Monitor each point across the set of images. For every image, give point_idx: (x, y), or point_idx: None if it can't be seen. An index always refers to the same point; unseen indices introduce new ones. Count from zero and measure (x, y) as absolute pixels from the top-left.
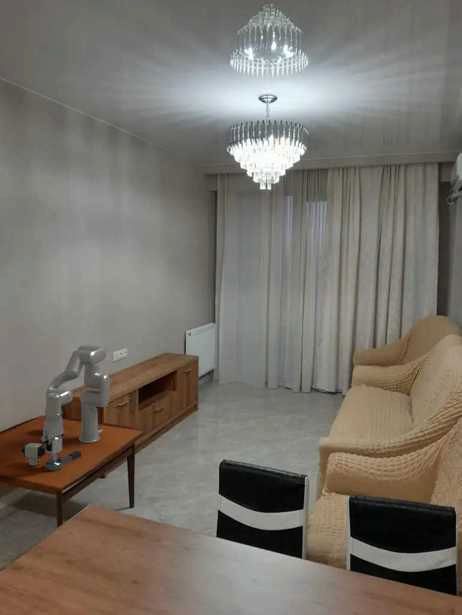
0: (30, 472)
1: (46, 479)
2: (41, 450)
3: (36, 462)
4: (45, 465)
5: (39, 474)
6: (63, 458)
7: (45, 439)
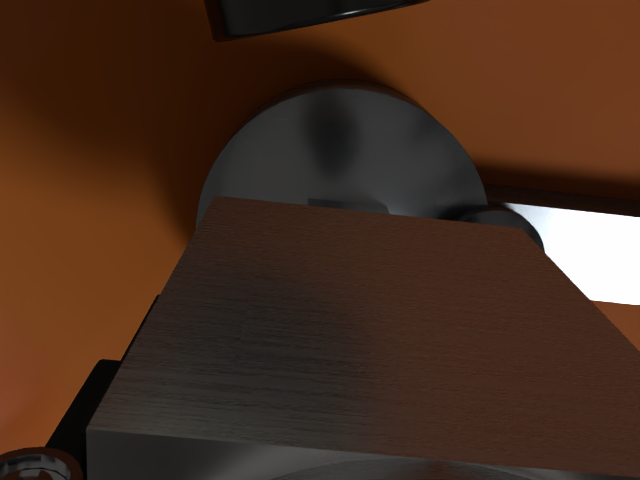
0: (36, 8)
1: (38, 359)
2: (232, 26)
3: None
4: (205, 183)
5: (76, 183)
6: (570, 235)
7: (91, 441)
